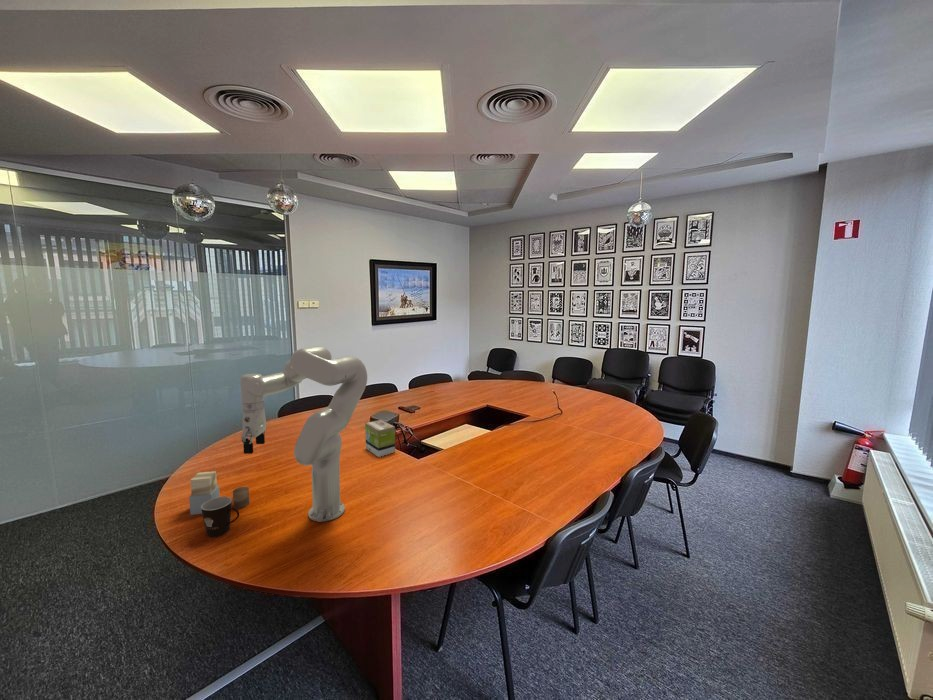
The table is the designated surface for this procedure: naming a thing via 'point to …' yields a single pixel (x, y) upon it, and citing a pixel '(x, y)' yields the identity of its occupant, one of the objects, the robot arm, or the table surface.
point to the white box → (201, 501)
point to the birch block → (203, 483)
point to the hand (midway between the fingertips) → (254, 448)
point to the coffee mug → (217, 515)
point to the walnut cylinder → (241, 497)
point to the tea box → (380, 437)
